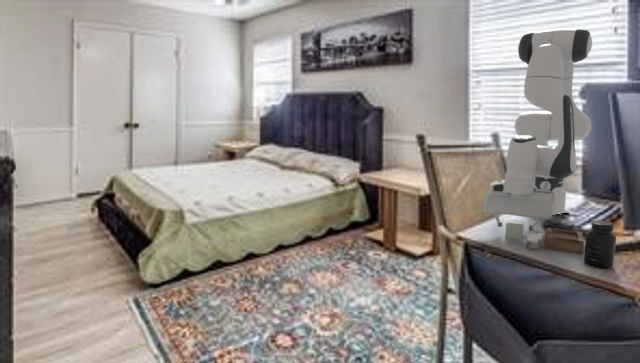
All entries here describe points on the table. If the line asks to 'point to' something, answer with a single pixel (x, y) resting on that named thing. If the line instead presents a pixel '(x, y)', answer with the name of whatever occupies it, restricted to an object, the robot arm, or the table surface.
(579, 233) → the walnut base
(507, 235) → the sage cube
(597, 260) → the supplement bottle
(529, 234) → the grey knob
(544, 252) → the table surface
